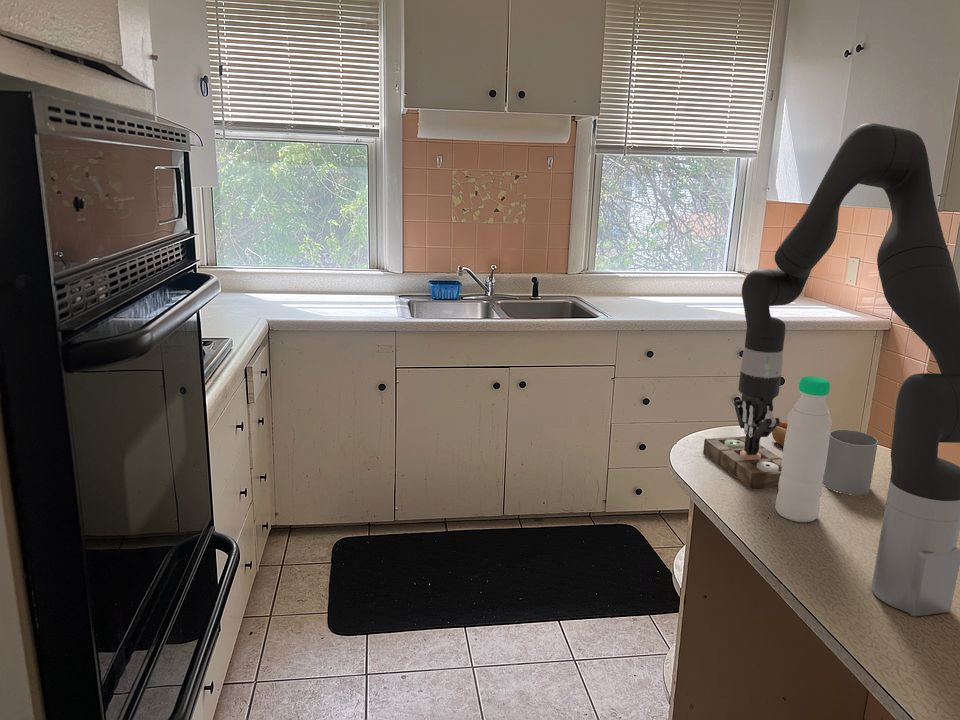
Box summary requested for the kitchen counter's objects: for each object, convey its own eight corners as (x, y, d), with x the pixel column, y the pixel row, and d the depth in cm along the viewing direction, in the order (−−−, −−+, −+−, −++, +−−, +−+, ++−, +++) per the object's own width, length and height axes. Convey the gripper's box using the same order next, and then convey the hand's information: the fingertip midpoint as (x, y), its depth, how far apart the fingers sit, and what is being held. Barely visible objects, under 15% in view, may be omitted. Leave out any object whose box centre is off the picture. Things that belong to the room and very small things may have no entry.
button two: (747, 459, 155) (748, 445, 154) (729, 460, 154) (731, 446, 154) (736, 452, 159) (738, 438, 158) (719, 453, 158) (721, 439, 157)
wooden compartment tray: (799, 486, 143) (801, 471, 142) (752, 489, 141) (754, 475, 140) (745, 449, 161) (747, 436, 160) (703, 452, 159) (704, 439, 158)
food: (764, 441, 166) (767, 420, 165) (783, 438, 168) (786, 417, 167) (814, 465, 154) (817, 442, 152) (833, 461, 156) (837, 439, 155)
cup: (880, 491, 141) (888, 442, 139) (847, 498, 138) (855, 448, 136) (844, 474, 149) (851, 427, 146) (812, 480, 146) (819, 432, 143)
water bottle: (822, 526, 128) (843, 386, 121) (778, 521, 129) (797, 383, 122) (812, 507, 134) (832, 374, 128) (771, 503, 136) (789, 371, 129)
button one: (781, 483, 144) (783, 468, 143) (762, 484, 143) (764, 469, 142) (769, 474, 148) (771, 460, 147) (751, 476, 147) (752, 461, 146)
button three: (763, 470, 150) (765, 456, 149) (745, 472, 149) (747, 457, 148) (752, 463, 153) (754, 448, 153) (734, 464, 152) (736, 450, 152)
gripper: (798, 379, 140) (787, 464, 145) (759, 360, 153) (749, 439, 157) (763, 381, 139) (752, 467, 143) (725, 362, 151) (717, 442, 156)
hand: (750, 452), depth 150 cm, fingers closed
